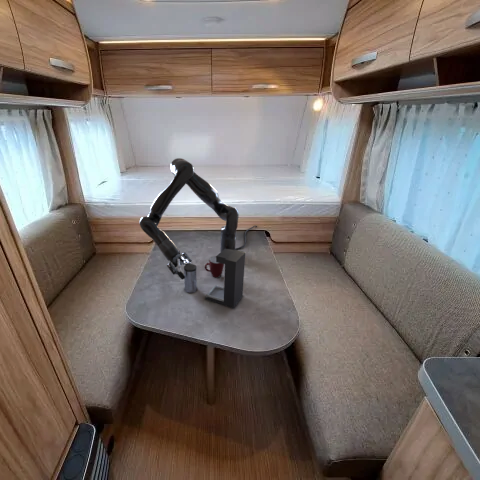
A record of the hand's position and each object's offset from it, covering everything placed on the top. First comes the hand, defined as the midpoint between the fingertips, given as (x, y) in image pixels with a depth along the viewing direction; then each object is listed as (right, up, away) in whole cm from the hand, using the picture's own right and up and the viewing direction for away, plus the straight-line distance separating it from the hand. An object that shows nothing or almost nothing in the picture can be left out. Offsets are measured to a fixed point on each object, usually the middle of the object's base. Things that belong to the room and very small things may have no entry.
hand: (188, 274), depth 132 cm
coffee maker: (+18, -11, -3) cm, 21 cm away
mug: (+13, -3, +15) cm, 20 cm away
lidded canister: (+1, -8, +3) cm, 8 cm away
